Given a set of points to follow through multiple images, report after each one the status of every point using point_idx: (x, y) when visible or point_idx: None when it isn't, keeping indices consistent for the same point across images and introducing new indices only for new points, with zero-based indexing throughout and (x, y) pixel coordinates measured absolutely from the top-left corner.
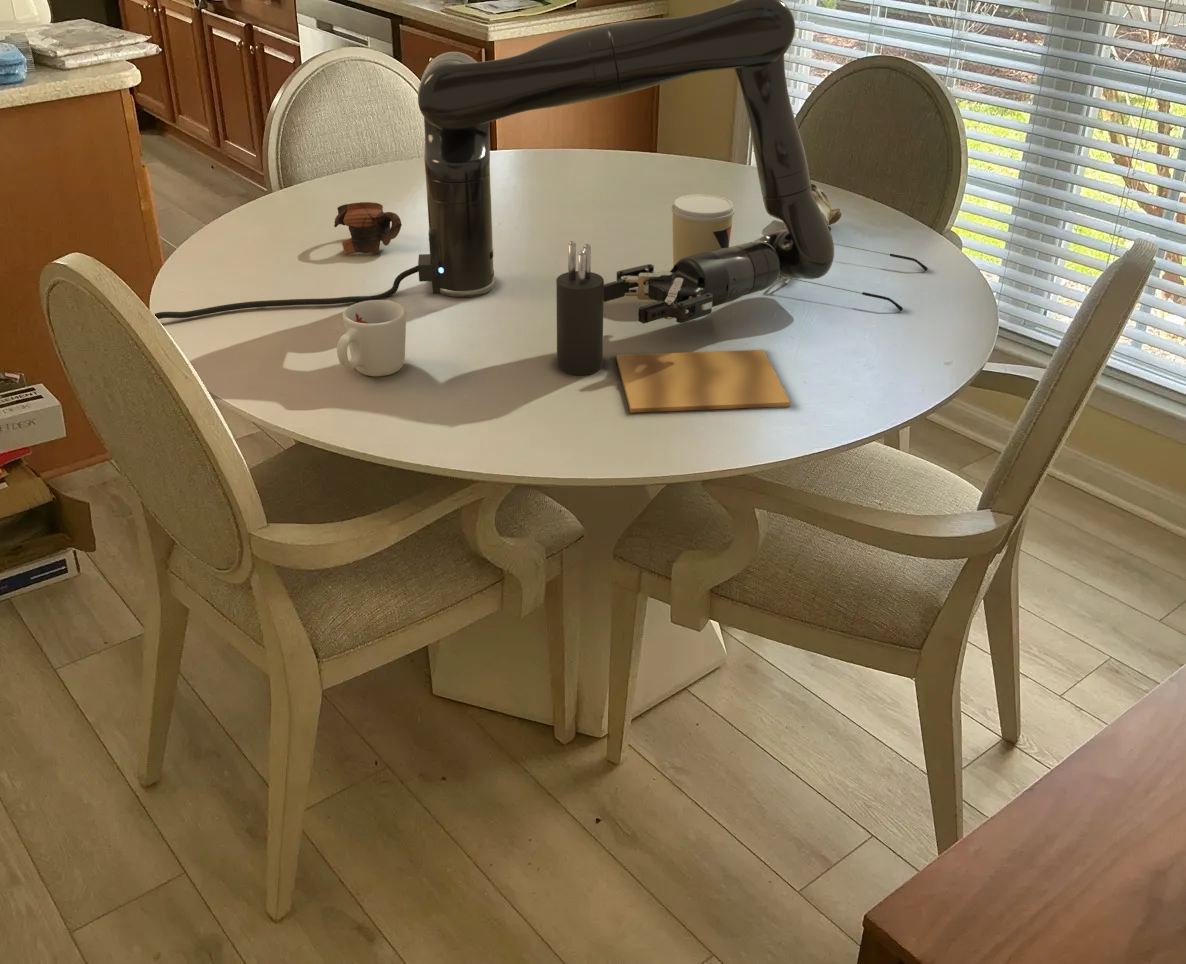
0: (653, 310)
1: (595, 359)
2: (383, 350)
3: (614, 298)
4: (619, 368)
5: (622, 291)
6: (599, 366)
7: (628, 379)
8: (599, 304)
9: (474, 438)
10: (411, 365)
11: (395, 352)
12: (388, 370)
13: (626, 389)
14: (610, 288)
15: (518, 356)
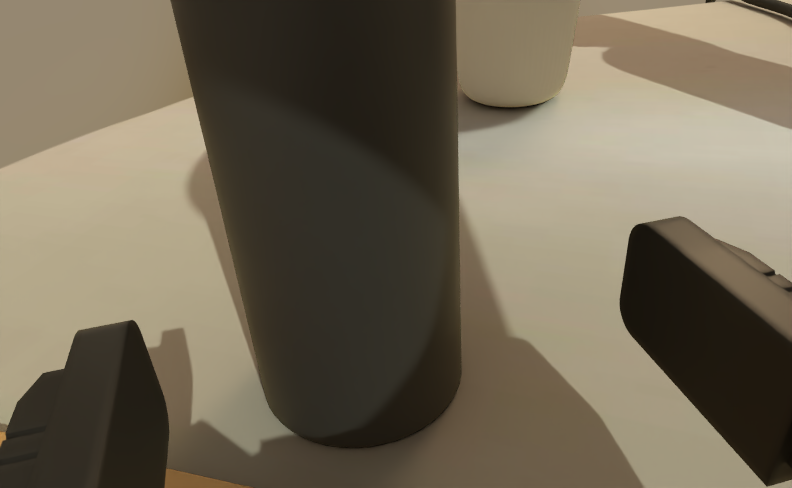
0: (17, 421)
1: (255, 351)
2: None
3: (686, 392)
4: (208, 479)
5: (760, 425)
6: (274, 405)
7: None
8: (197, 94)
9: (142, 155)
10: (512, 119)
11: (462, 51)
12: (460, 83)
13: (5, 435)
14: (676, 281)
15: (507, 248)
